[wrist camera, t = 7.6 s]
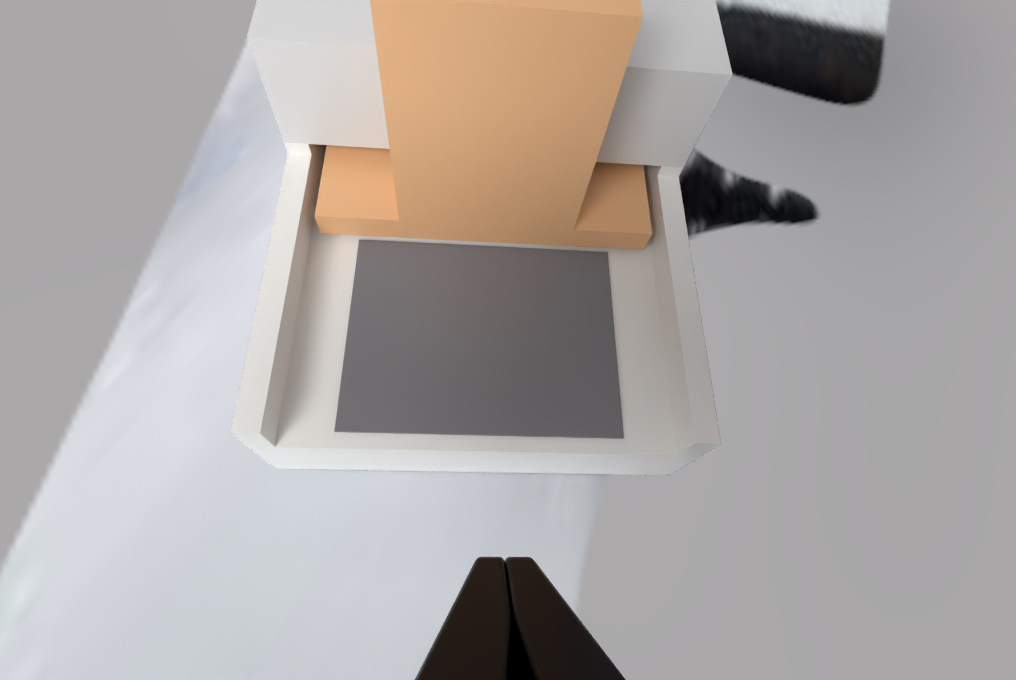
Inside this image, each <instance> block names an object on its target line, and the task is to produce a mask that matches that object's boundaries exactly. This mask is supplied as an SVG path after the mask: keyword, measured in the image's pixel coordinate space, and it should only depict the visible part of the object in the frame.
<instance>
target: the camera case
mask: <svg viewBox="0 0 1016 680" xmlns="http://www.w3.org/2000/svg"><path fill="white" fill-rule="evenodd" d="M641 7H642V13H643V18H642V22H641V25H640V28H639V31H638V34H637V37H636V40H635V43H634V46H633V49H632V52H631V55H630V58H629V61H628V65H627V68H626V71H625V74H624V77H623V80H622V83H621V86H620V89H619V92H618V95H617V98H616V101H615V104H614V108H613V111H612V114H611V117H610V120H609V123H608V126H607V129H606V132H605V135H604V138H603V141H602V144H601V147H600V151H599V154H598V157H597V160H596V162H605V163H621V164H636V165H643V166H644V174H645V181H646V189H647V197H648V205H649V212H650V220H651V228H652V235H651V237H650V239H649V241H648V243H647V245H646V247H645V248H644V250H635V249H615V248H596V247H576V246H556V245H536V244H517V243H497V242H477V241H457V240H437V239H418V238H398V237H378V236H358V235H339V234H321V233H320V231H319V228H318V225H317V222H316V219H315V210H316V204H317V199H318V193H319V187H320V181H321V175H322V169H323V163H324V158H325V152H326V146H327V145H335V146H351V147H366V148H382V149H389V141H388V134H387V126H386V119H385V111H384V103H383V96H382V88H381V81H380V73H379V66H378V58H377V51H376V43H375V36H374V28H373V21H372V13H371V5H370V0H257V2H256V5H255V9H254V13H253V16H252V20H251V24H250V27H249V31H248V34H247V40H248V42H249V45H250V48H251V51H252V54H253V56H254V59H255V62H256V65H257V68H258V70H259V73H260V76H261V79H262V82H263V84H264V87H265V90H266V93H267V96H268V98H269V101H270V104H271V107H272V110H273V112H274V115H275V118H276V121H277V124H278V126H279V129H280V132H281V135H282V138H283V140H284V143H285V146H286V149H287V152H288V155H287V160H286V164H285V169H284V174H283V179H282V184H281V189H280V193H279V198H278V203H277V208H276V213H275V218H274V223H273V227H272V232H271V237H270V242H269V247H268V252H267V256H266V261H265V266H264V271H263V276H262V281H261V286H260V290H259V295H258V300H257V305H256V310H255V315H254V319H253V324H252V329H251V334H250V339H249V344H248V348H247V353H246V358H245V363H244V368H243V373H242V378H241V382H240V387H239V392H238V397H237V402H236V407H235V411H234V416H233V421H232V426H231V431H230V433H231V434H232V435H234V436H235V437H236V438H237V439H239V440H240V441H241V442H242V443H244V444H245V445H246V446H247V447H249V448H250V449H251V450H252V451H254V452H255V453H256V454H257V455H259V456H260V457H261V458H262V459H264V460H265V461H266V462H267V463H269V464H270V465H271V466H273V467H274V468H277V469H333V470H389V471H446V472H502V473H558V474H617V475H670V474H672V473H674V472H676V471H677V470H679V469H681V468H682V467H684V466H685V465H687V464H689V463H690V462H692V461H694V460H695V459H697V458H699V457H700V456H702V455H704V454H705V453H707V452H709V451H710V450H712V449H714V448H715V447H717V446H719V445H720V444H721V439H720V433H719V426H718V420H717V414H716V408H715V402H714V395H713V390H712V383H711V377H710V370H709V365H708V358H707V351H706V345H705V339H704V333H703V326H702V320H701V314H700V308H699V301H698V295H697V289H696V282H695V277H694V270H693V264H692V258H691V252H690V245H689V239H688V232H687V226H686V220H685V214H684V207H683V201H682V195H681V189H680V182H679V175H680V173H681V171H682V170H683V168H684V166H685V164H686V162H687V160H688V158H689V156H690V154H691V152H692V151H693V149H694V147H695V145H696V143H697V141H698V139H699V137H700V135H701V134H702V132H703V130H704V128H705V126H706V124H707V122H708V120H709V118H710V116H711V115H712V113H713V111H714V109H715V107H716V105H717V103H718V101H719V100H720V98H721V96H722V94H723V92H724V90H725V88H726V86H727V84H728V83H729V81H730V79H731V77H732V70H731V66H730V62H729V57H728V53H727V49H726V44H725V40H724V36H723V31H722V27H721V23H720V18H719V14H718V10H717V5H716V1H715V0H641Z"/></svg>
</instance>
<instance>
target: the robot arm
mask: <svg viewBox="0 0 1016 680" xmlns="http://www.w3.org/2000/svg"><path fill="white" fill-rule="evenodd" d="M415 680H625V678H624V677H623V676H622V674H621V673H620V672H619V670H618V669H617V668H616V667H615V665H614V664H613V663H612V661H611V660H610V659H609V657H608V656H607V655H606V654H605V652H604V651H603V650H602V648H601V647H600V646H599V644H598V643H597V642H596V641H595V639H594V638H593V637H592V635H591V634H590V633H589V631H588V630H587V629H586V628H585V626H584V625H583V624H582V622H581V621H580V620H579V618H578V617H577V616H576V614H575V613H574V612H573V611H572V609H571V608H570V607H569V605H568V604H567V603H566V601H565V600H564V599H563V598H562V596H561V595H560V594H559V592H558V591H557V590H556V588H555V587H554V586H553V584H552V583H551V582H550V581H549V579H548V578H547V577H546V575H545V574H544V573H543V571H542V570H541V569H540V568H539V566H538V565H537V564H536V562H535V561H534V560H533V559H532V558H530V557H508V558H506V560H505V561H504V560H503V558H501V557H479V558H477V559H476V561H475V563H474V564H473V566H472V568H471V570H470V572H469V574H468V576H467V578H466V580H465V582H464V584H463V586H462V588H461V590H460V592H459V594H458V596H457V598H456V600H455V602H454V604H453V606H452V608H451V610H450V612H449V614H448V616H447V618H446V620H445V622H444V623H443V625H442V627H441V629H440V631H439V633H438V635H437V637H436V639H435V641H434V643H433V645H432V647H431V649H430V651H429V653H428V655H427V657H426V659H425V661H424V663H423V665H422V667H421V669H420V671H419V673H418V675H417V677H416V679H415Z"/></svg>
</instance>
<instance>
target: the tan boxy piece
mask: <svg viewBox="0 0 1016 680" xmlns="http://www.w3.org/2000/svg"><path fill="white" fill-rule="evenodd" d="M370 5H371V13H372V21H373V28H374V36H375V43H376V51H377V58H378V66H379V73H380V81H381V88H382V96H383V103H384V111H385V119H386V126H387V134H388V141H389V149H382V148H366V147H351V146H335V145H327V146H326V152H325V158H324V163H323V169H322V175H321V181H320V187H319V193H318V199H317V204H316V210H315V219H316V222H317V225H318V228H319V231H320V233H321V234H339V235H358V236H378V237H398V238H418V239H437V240H457V241H477V242H497V243H517V244H536V245H556V246H576V247H596V248H615V249H635V250H644V248H645V247H646V245H647V243H648V241H649V239H650V237H651V235H652V228H651V220H650V212H649V205H648V197H647V189H646V181H645V174H644V166H643V165H636V164H621V163H605V162H596V160H597V157H598V154H599V151H600V147H601V144H602V141H603V138H604V135H605V132H606V129H607V126H608V123H609V120H610V117H611V114H612V111H613V108H614V104H615V101H616V98H617V95H618V92H619V89H620V86H621V83H622V80H623V77H624V74H625V71H626V68H627V65H628V61H629V58H630V55H631V52H632V49H633V46H634V43H635V40H636V37H637V34H638V31H639V28H640V25H641V22H642V18H643V13H642V7H641V0H370Z"/></svg>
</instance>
